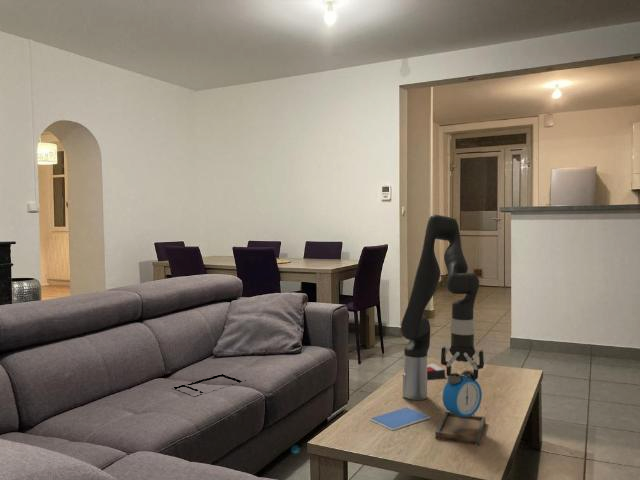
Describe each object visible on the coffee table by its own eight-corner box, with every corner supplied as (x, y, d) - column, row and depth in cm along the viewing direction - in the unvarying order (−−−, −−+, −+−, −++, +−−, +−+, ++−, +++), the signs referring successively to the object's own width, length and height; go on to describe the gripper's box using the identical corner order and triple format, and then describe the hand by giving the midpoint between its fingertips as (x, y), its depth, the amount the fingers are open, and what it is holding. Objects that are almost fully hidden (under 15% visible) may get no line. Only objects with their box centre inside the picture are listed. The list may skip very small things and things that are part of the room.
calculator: (404, 366, 250) (434, 362, 254) (405, 375, 250) (434, 371, 254) (414, 372, 239) (445, 368, 243) (415, 382, 240) (445, 377, 243)
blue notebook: (392, 432, 183) (392, 429, 183) (368, 421, 193) (368, 417, 193) (431, 420, 194) (431, 416, 194) (406, 409, 204) (406, 406, 204)
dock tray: (435, 438, 177) (435, 431, 176) (445, 417, 195) (445, 411, 195) (479, 445, 171) (479, 438, 171) (485, 423, 190) (485, 416, 190)
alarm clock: (454, 421, 177) (454, 377, 176) (441, 416, 182) (441, 372, 182) (482, 414, 184) (482, 371, 183) (468, 408, 189) (469, 366, 188)
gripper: (485, 331, 182) (484, 378, 183) (443, 327, 188) (442, 373, 189) (483, 335, 176) (482, 384, 176) (439, 332, 181) (439, 379, 182)
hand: (462, 378), depth 182 cm, fingers closed on alarm clock, 8 cm apart
